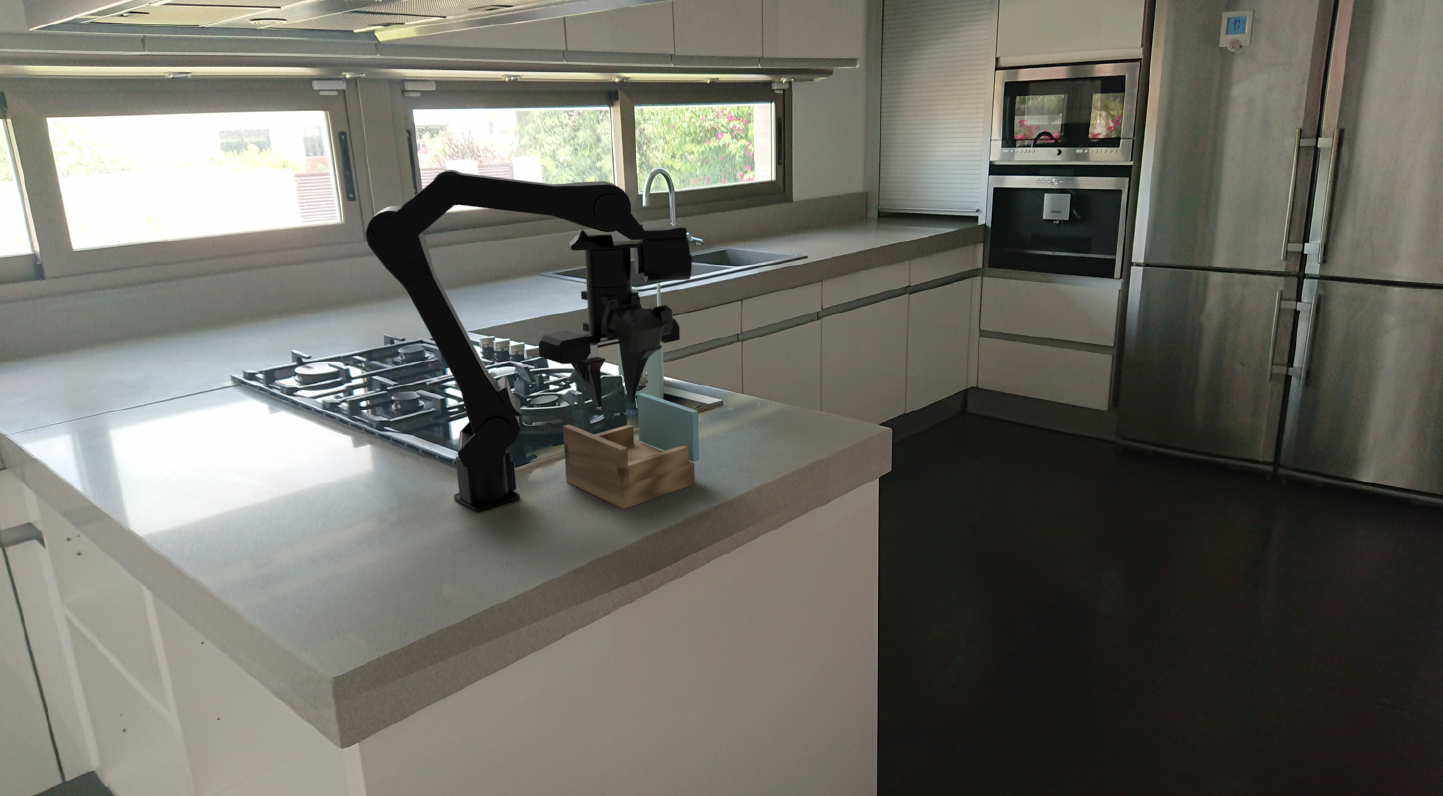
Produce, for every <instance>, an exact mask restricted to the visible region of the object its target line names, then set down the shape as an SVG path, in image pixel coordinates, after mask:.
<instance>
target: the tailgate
mask: <svg viewBox="0 0 1443 796" xmlns="http://www.w3.org/2000/svg"><path fill="white" fill-rule="evenodd" d="M636 400H637V420H638V422H637V423H638V442H641V443H643V444H646V445H649V446H651V447H654V448H656V449H659V450H661V451H666V450H669V449H673V448H676V447H679V446H682V445H684V446H687V447H688V458H689V462H692V463H695V462H697V461H699V460H700V440H699V439H700V437H699V410H696V409H693V408H690V407H687V406H684V405H681V404H678V403H676V402H671V401H669V400H666V399H664V398H663V399H660V398H657V397H654V396H651V395H648V394H645V393H640V394H637V398H636Z"/></svg>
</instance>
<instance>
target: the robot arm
mask: <svg viewBox="0 0 1443 796" xmlns="http://www.w3.org/2000/svg"><path fill="white" fill-rule="evenodd" d="M454 206H464V207H465V206H467V207H474V208H475V207H476V208H480V209H488V210H489V209H490V210H498V211H499V210H500V211H508V212H517V213H525V214H533V215H542V216H549V217H550V216H551V217H555V218H559V219H562V220H564V221H567V222H570V223H574V224H576V225H579V226H582V227H585V228H589V229H593V230H596V231H600V232H603V234H588V233H587V232H585V230H584V228H579V230H578V232H577V234H576V235H575V236H574V238H572V239H571V240H570V241H568V246H569V248H570V249H571V250H572V251H573V252H575V251H584V262H585V265H584V266H585V281H586V282H585V283H586V289H585V290H581V291H580V299H581V300H584V301H586V302H587V318H588V320H587V321H586V322H582V330H583V331H584V332H588V334H584V335H583V334H578V333H575V332H572V331H568V330H562V331H557V332H552V333H548V334H547V333H546V334H543V335H542V337H541V338H540V340H539V342H538V354H539V355H538V356H539V357H540V358H542V359H546V360H549V361H552V362H555V363H557V364H560V365H571V366H572V368H573V369H574V371H575V372H576V374H577V375H578V377H579V379H580V380H581V383H582V384H583V387H584V389H585V391H586V392H587V394H588V395H589V398H590V399H591V401H592V404H593V405H594V406H595V407H601V406H602V402H603V401H602V400H603V399H602V398H603V394H602V393H603V392H602V391H603V389H602V376H601V375H602V374H601V369H602V366H603V365H604V363H605V362H606V358H603V357H600V356H599V351H598V350H599V348H604V347H608V346H613V345H617V344H619V347H620V354H621V361H622V368H623V375H624V382H625V388H626V391H627V395H626V396H627V398H630V399H634V397H635V395H636V392H637V388H638V385H639V382H640V379H641V376H642V373H643V370H644V367H645V365H646V362H647V360H648V358H649V357H650V356H651V355H652V354H653V353H654V352H655V351H657V350H660V349H661V347H662V346H661V345H660V342H662V343H663V344H667V343H671V342H675V341H680V340H681V327H680V325H679V322H678V321H677V320H676V318H674V317H673V310H672V309H671V308H670V307H669V306H667V305H666V304H663V305H661V306H654V307H653V308H650V307H649V308H643V307H642V305H641V297H640V295H639V291H635V290H633V283H632V282H633V281H632V260H631V259H632V258H631V249H633V258H634V259H633V261H634V269H635V273H636V275H643V278H644V281H645V282H646V283H649V282H650V283H651V282H670V281H688V280H690V279H691V276H692V269H693V264H692V263H693V258H692V254H691V251H690V245H689V240H688V235H687V233H688V232H687V231H688V230H687V228H686V227H684V226H683V225H674V226H670V227H665V228H663V227H662V228H644V225H643V224H642V223H641V222H640V221H639V220H637V219H636V217H634V215H633V214H632V203H631V200H630V198H629V196H628V194H627V193H626V192H625V191H624V190H623V189H622V188H621V187H619V186H617V185H616V184H614V183H613V182H609V181H608V180H607V181H606V180H597V181H596V180H595V181H577V182H568V183H567V182H566V183H546V182H538V181H537V182H536V181H528V180H522V179H512V178H504V177H497V176H488V175H482V174H481V175H479V174H474V173H467V172H466V173H465V172H460V171H458V170H456V169H444V170H441V171H440V172H439V173H438V174H437V175H436V176H435V177H434V179H433V180H432V181H431V182H430V183H428V184H427V185H426V186H425V187H423V188H422V189H421V190H419V191H418V192H417V193H416V194H414V195H413V196H412V197H410V198H409V199H408V200H407V201H405V202H404V203H402V205H391V206H387V207H385V208H383V209H381V210H379V211H378V212H377V213H376V214H375V215H373V216H372V218H371V219H370V220H369V222H368V224H367V227H366V230H365V238H366V242H367V245H368V247H369V248H370V251H372V252H373V254H374V255H375V256H376V257H377V259H378V260H379V261H380V263H381V264H382V265H383V266H384V267H385V269H386V270H387V271H388V272H389V273H390V275H392V277H393V278H395V279H396V281H397V282H399V284H400V285H402V287H403V288H404V289H405V290H406V292H407V295H409V298H410V299H411V301H412V303H413V305H414V307H415V308H416V311H417V312H418V314H419V316H420V318H421V320H422V321H423V323H424V325H425V328H426V329H427V330H428V333H429V334H430V336H431V337H432V339H433V342H434V344H435V345H436V347H437V349H438V351H439V352H440V354H441V356H442V358H443V360H444V361H445V364H446V365H447V367H448V369H449V371H450V372H451V374H452V376H453V378H454V381H456V383H457V386H458V387H459V390H460V394H461V397H462V401H463V405H464V409H465V411H466V412H465V413H466V415H467V419H468V422H467V424H465V426H464V427H462V429H460V431H459V437H458V448H457V456H456V457H455V464H456V474H457V475H456V476H457V483H458V484H457V485H458V492H457V493H454V494H453V499H454V500H456V501H457V502H459V503H461V504H463V505H464V506H466V507H468V508H470V509H471V510H473V511H474V512H481V511H485V510H488V509H490V508H494V507H497V506H500V505H504V504H507V503H508V504H509V503H510V502H513V501H514V502H515V501H517V500H520V499H521V494H520V493H518V492H516V491H517V490H516V489H517V479H516V466H515V461H514V460H512V456H511V451H510V450H508V448H509V447H510V446H512V445H513V444H514V443H515V442H516V441H517V439H518V437H519V434H520V431H521V430H520V428H521V427H520V417H521V416H522V412H521V411H522V410H521V400H520V399H519V398H518V397H517V396H516V395H515V394H514V393H513V391H512V388H511V386H510V382H509V379H508V377H507V375H503V376H502V377H500V379H498V380H497V379H496V378H495V377H494V376H493V375H492V374H491V373H490V372H489V371H488V369H487V368H486V366H485V365H484V363H483V360H482V359H481V357H480V354H479V353H478V351H477V349H476V347H475V346H474V343H473V342H472V339H471V338H470V336H469V335H468V332H467V330H466V328H465V327H464V325H463V322H462V321H461V319H460V318H459V315H458V314H457V311H456V310H455V308H454V306H453V304H452V302H451V300H450V299H449V297H448V295H447V293H446V291H445V289H444V287H443V285H442V283H441V282H440V280H439V277H438V276H437V274H436V272H435V268H434V265H433V261H432V257H431V253H430V249H429V246H428V243H427V240H426V239H427V238H426V237H425V234H424V233H425V231H426V230H427V229H428V228H430V227H431V226H432V225H433V224H434V223H435V222H436V221H438V220H439V219H440V218H442V216H443V215H445V213H447V212H448V211H450V210H451V209H452V208H454ZM612 232H616V233H617V232H618V233H619V234H620V235H622V236H624V237H625V238H626V239H629V240H613V239H614V238H613V236H612ZM604 233H605V234H604ZM607 233H608V234H607Z"/></svg>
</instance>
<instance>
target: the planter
mask: <svg viewBox="0 0 1443 796" xmlns="http://www.w3.org/2000/svg"><path fill="white" fill-rule="evenodd" d="M661 296H662V295H661V284H660V283H659V282H658V283H656V305H657V306H662V297H661ZM657 306H656V307H657ZM663 344H664V343H662V342H660V345H661V346H662V347H661V349H660V350H657V351H655V352H654V353H653V354H652V355H651V356H650V357H649V358H648V360H647V362H646V365H645V367H644V370H643V373H642V375H643V377H646V376H645V375H648V376H647V377H646V378H647V379H648V383H647V385H646V387H645V388H643V389H642V390H640V391H637V392H636V394H640V393H645V394H648V395H651V396H654V397H657V398H660V399H663V400H664V386H665V378H664V377H665V376H664V375H665V373H664V345H663ZM616 345H617V366H618V376H619V375H622V376H623V377H624V375H623V368H622V361H621V354H620V347H619V344H616ZM646 372H647V373H646Z"/></svg>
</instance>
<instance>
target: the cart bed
mask: <svg viewBox="0 0 1443 796" xmlns="http://www.w3.org/2000/svg"><path fill="white" fill-rule="evenodd" d="M562 432H563V434H562V435H563V447H564V464H565V465H564V466H565V479H566V480H565V481H566V482H567V483H569V484H571V485H573V486H575V487H577V488H578V489H582V490H584V491H586V492H588V493H589V494H592V495H594V496H596V497H598V498H600V499H602V500H603V501H607V502H609V503H610V504H613V505H615V506H617V507H618V508H620V509H622V510H624V509H627V508H630V507H633V506H636V505H639V504H641V503H644V502H647V501H650V500H653V499H656V498H658V497H662V496H664V495H665V496H666V495H667V494H670V493H673V492H676V491H679V490H681V489H685V488H687V487H690V486H694V485H695V483H696V478H695V462H693V461H690V460H689V458H688V447H687V446H684V445H682V446H679V447H676V448H673V449H669V450H666V451H664V450H662V449H659V448H657V447H654V446H651V445H649V444H646V443H644V442H641V441H639V440H635V438H634V436H635V434H634V433H635V432H634V426H633V425H632V424H626V425H623V426H620V427H616V428H613V429H609V430H605V431H602V432H598V433H595V434H593V433H591V432H589V431H587V430H584V429H581V428H578V427H577V426H574V425H571V424H566V425H562Z"/></svg>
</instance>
